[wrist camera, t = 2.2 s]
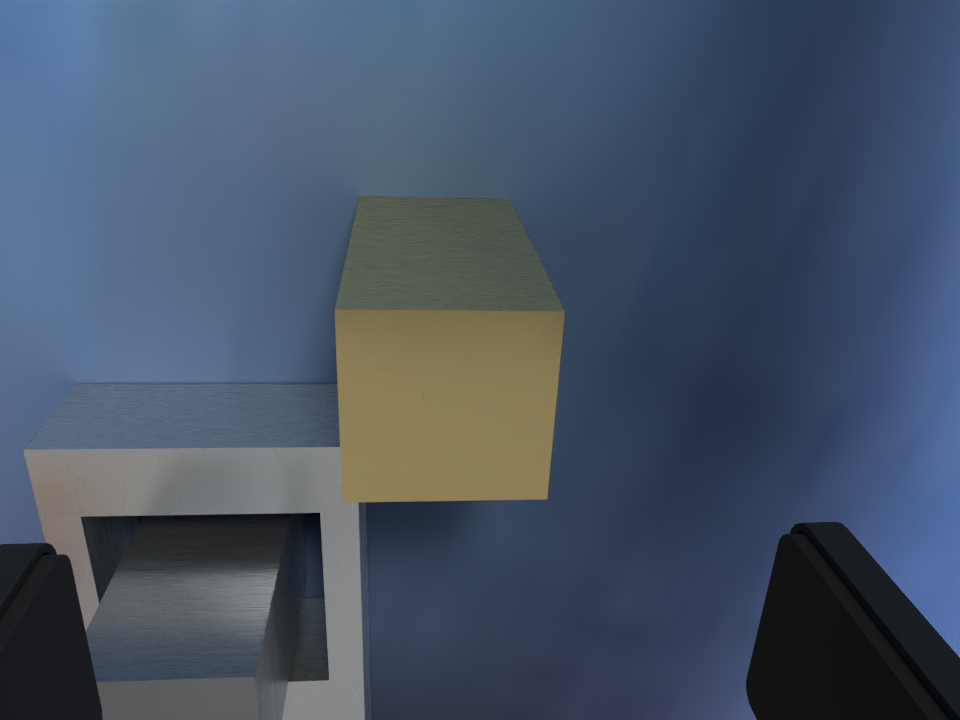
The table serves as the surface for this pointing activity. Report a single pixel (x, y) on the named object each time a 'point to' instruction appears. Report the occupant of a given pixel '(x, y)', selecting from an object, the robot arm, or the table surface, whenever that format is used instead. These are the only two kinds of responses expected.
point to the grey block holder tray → (214, 502)
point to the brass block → (445, 354)
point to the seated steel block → (201, 618)
